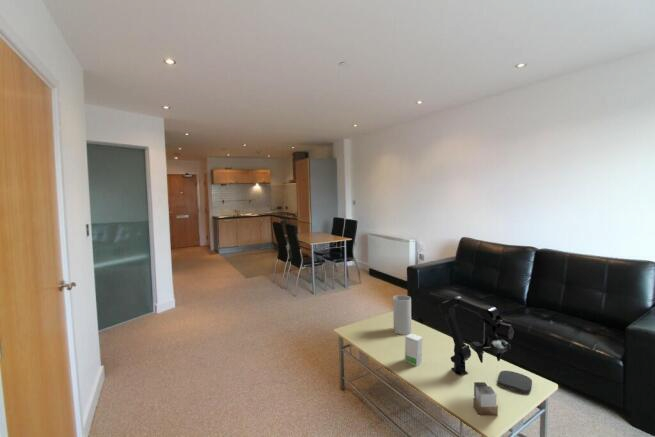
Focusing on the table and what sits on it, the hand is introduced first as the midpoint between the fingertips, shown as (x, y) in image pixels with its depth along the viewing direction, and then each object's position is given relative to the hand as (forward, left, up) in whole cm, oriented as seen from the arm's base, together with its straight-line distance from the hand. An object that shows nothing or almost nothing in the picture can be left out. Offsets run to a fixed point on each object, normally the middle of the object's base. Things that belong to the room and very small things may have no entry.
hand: (489, 361), depth 162 cm
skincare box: (-29, -29, -13) cm, 43 cm away
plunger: (+15, -13, -10) cm, 22 cm away
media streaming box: (0, +14, -14) cm, 20 cm away
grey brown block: (+17, -14, -13) cm, 26 cm away
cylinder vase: (-70, -21, -13) cm, 74 cm away
